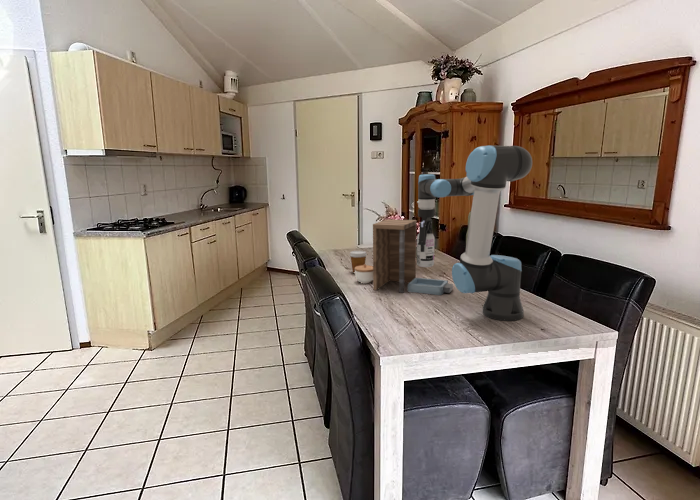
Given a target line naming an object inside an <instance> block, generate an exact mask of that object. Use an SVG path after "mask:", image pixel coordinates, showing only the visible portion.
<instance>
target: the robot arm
mask: <svg viewBox="0 0 700 500" xmlns="http://www.w3.org/2000/svg"><path fill="white" fill-rule="evenodd" d="M532 167H533V158H532V155H531V153H530V152H529V151H528V150H527V149H526V148H524V147H522V146H518V145H481V146H478V147H476V148H474V149H473V151H471V152H470V153H469V155H468V156H467V160H466V163H465V173H466V175H465V177H462V178H438V179H437V178H436V175H435V174H433V173H432V174H431V173H430V174H420V175H419V176H418V182H417V185H418V186H417V187H418V188H417V191H418V193H417V194H418V195H417V196H418V201H416V203H417V205H418V206H417V207H418V209H417V217H418V218H421V221H420V222H419V224H418V225H419V231H418V234H419V242H418V245H420V259H426V245H425V244H426V236H427V234H430V233H431V234H433V219H432V218H434V217H435V212H436V211H435V206H436V205H435V204H436V203H435V201H436V198H446V197H461V196H465V197H469V196H473V197H472V203H471V210H470V211H471V216H470V223H469V230H468V229H467V231H468V237H467V244H466V243H465V251H464V252H463V253H462V254H461V255H460V258H459V262H456V263H454V264H453V266H452V268H451V276H452V282H453V285H454V286H455V288H456V289H457V290H458V291H459V292H460V293H461V294H476V293H483V292H487V295H486V298H485V300H484V303H483V305H482V311H481V312H482V314H483V315H484V316H485V317H487V318H490V319H493V320H497V321H498V320H499V321H504V322H505V321H508V322H509V321H510V322H513V321H518V320H522V319H523V317H524V314H525V313H524V308H523V304H522V300H521V282H522V281H521V280H522V272H523V270H522V261H521V260H520V259H518V258H517V257H513V256H506V255H500V254H499V255H498V254H491V247H492V242H493V236H494V230H495V224H496V218H497V212H498V207H499V200H500V193H501V192H502V191H504V190H505V189H506V187H507V182H515V181H517V180H522V179H523V178H525V177H526V176H527V175H528V174H530V172H531V170H532ZM422 241H423V242H422ZM490 254H491V255H490Z"/></svg>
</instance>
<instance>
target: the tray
mask: <svg viewBox="0 0 700 500" xmlns="http://www.w3.org/2000/svg"><path fill="white" fill-rule="evenodd" d="M453 289H454V283H449V280H446V279H445V280H444V279H436V278H424V277H416V278H414V279H413V280H412V281H411V282H410V283H407V292H410V293H418V294H427V295H435V296H442V295H444V293H447V294H450V293H451V292H452V291H453Z"/></svg>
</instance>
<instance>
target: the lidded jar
mask: <svg viewBox="0 0 700 500" xmlns="http://www.w3.org/2000/svg"><path fill="white" fill-rule="evenodd" d="M354 276H355V278H356V280H357V281H358V283H359V282H362V283H363V284H369V282H370V283H371V282H373V265H368V264H366V263H365V264H364V265H361V266H356V267H355V274H354ZM362 283H361V284H362Z"/></svg>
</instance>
